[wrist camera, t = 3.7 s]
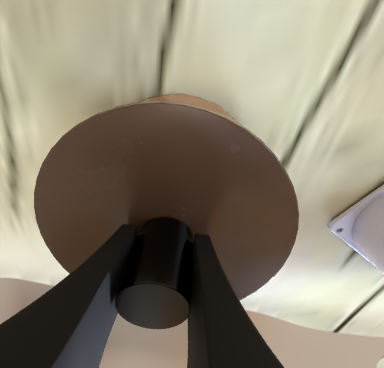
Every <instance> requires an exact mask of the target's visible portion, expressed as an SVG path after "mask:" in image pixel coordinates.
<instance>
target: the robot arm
mask: <svg viewBox="0 0 384 368" xmlns="http://www.w3.org/2000/svg"><path fill="white" fill-rule="evenodd" d="M328 227H329V229H330V230H331V231H332V232H334V233H335V234H336V235H337V236H338V237H340V238H341V239H342V240H343V241H344V242H346V243H347V244H348V245H349V246H351V247H352V248H353V249H354V250H355V251H357V252H358V253H359V254H360V255H362V256H363V257H364V258H365V259H366V260H368V261H369V262H370V263H371V264H373V265H374V266H375V267H376V268H377V269H378V270H379V271H380V272H381V273H382V274H383V276H384V184H383V185H382V186H380V187H379V188H378V189H376V190H375V191H373V192H372V193H370V194H369V195H368V196H366V197H365V198H363V199H362V200H361V201H359V202H358V203H356V204H355V205H353V206H352V207H351V208H349V209H348V210H346V211H345V212H344V213H342V214H341V215H339V216H338V217H336V218H335V219H334V220H332V221H331V222H330V223H329V224H328ZM338 228H339V229H338ZM136 239H137V226H136V225H129V224H123V225H121V226H120V227H119V228H118V229H117V231H116V232H115V233H114V234H113V235H112V236H111V237H110V238H109V239H108V240H107V241H106V242H105V243H104V244H103V245H102V246H101V247H100V248H99V249H97V250H96V251H95V252H94V253H93V254H92V255H91V256H90V257H89V258H88V259H87V260H86V261H84V262H83V263H82V264H81V265H80V266H79V267H77V268H76V269H75V270H74V271H73V272H72V273H70V274H69V275H68V276H67V277H66V278H64V279H63V280H62V281H61V282H59V283H58V284H57V285H56V286H54V287H53V288H52V289H50V290H49V291H48V292H46V293H45V294H44V295H42V296H41V297H40V298H38V299H37V300H36V301H34V302H33V303H31V304H30V305H28V306H27V307H25V308H24V309H22V310H21V311H20V312H18V313H17V314H15V315H14V316H12V317H11V318H9V319H8V320H6V321H5V322H3V323H2V324H0V368H99V365H100V362H101V358H102V355H103V351H104V348H105V345H106V343H107V339H108V337H109V334H110V331H111V329H112V326H113V324H114V321H115V319H116V316H117V314H118V312H117V310H116V308H115V296H116V294H117V291H118V288H119V286H120V283H121V280H122V277H123V275H124V272H125V269H126V267H127V264H128V261H129V258H130V256H131V253H132V250H133V248H134V245H135V242H136ZM187 368H284V367H283V365H282V364H281V363H280V361H279V360H278V359H277V357H276V356H275V355H274V353H273V352H272V350H271V349H270V348H269V346H268V345H267V344H266V342H265V341H264V339H263V338H262V336H261V335H260V333H259V332H258V330H257V329H256V327H255V326H254V324H253V323H252V321H251V319H250V318H249V316H248V315H247V313H246V311H245V310H244V308H243V306H242V305H241V303H240V301H239V299H238V297H237V296H236V294H235V292H234V290H233V288H232V286H231V284H230V282H229V280H228V278H227V276H226V274H225V272H224V270H223V268H222V266H221V263H220V261H219V259H218V256H217V254H216V251H215V249H214V246H213V243H212V240H211V237H210V236H209V235H203V234H195V238H194V243H193V260H192V295H191V312H190V314H189V316H188V363H187Z"/></svg>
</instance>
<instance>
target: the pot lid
mask: <svg viewBox="0 0 384 368" xmlns="http://www.w3.org/2000/svg"><path fill="white" fill-rule="evenodd" d="M34 209H35V214H36V220H37V224H38V227H39V230H40V233H41V235H42V237H43V239H44V241H45V243H46V245H47V247H48V248H49V250H50V251H51V253H52V254H53V256H54V257H55V259H56V260H57V261H58V262H59V263H60V264H61V266H62V267H63V268H64V269H65V270H66V271H67V272H68V273H72V272H73V271H74V270H75V269H76V268H77V267H79V266H80V265H81V264H82V263H83V262H84V261H86V260H87V259H88V258H89V257H90V256H91V255H92V254H93V253H94V252H95V251H96V250H97V249H99V248H100V247H101V246H102V245H103V244H104V243H105V242H106V241H107V240H108V239H109V238H110V237H111V236H112V235H113V234H114V233H115V232H116V231H117V229H118V228H119V227H120V226H121V225H123V224H129V225H136V226H137V239H136V242H135V245H134V248H133V250H132V253H131V256H130V258H129V261H128V264H127V267H126V269H125V272H124V275H123V277H122V280H121V283H120V286H119V288H118V291H117V294H116V296H115V308H116V310H117V312H118V313H119V314H120V315H121V316H122V317H123V318H124V319H125V320H127V321H128V322H130V323H132V324H134V325H137V326H140V327H144V328H149V329H166V328H171V327H174V326H177V325H179V324H181V323H182V322H184V321H185V320H186V319H187V318H188V316H189V314H190V312H191V295H192V260H193V243H194V238H195V234H203V235H209V236H210V237H211V240H212V243H213V246H214V249H215V251H216V254H217V256H218V259H219V261H220V263H221V266H222V268H223V270H224V272H225V274H226V276H227V278H228V280H229V282H230V284H231V286H232V288H233V290H234V292H235V294H236V296H237V297H238V299H239V300H242V299H244V298H246V297H247V296H249V295H251V294H253V293H254V292H256V291H257V290H259V289H260V288H261V287H263V286H264V285H265V284H267V283H268V282H269V281H270V280H271V279H272V278H273V277H274V276H275V275H276V274H277V272H278V271H279V270H280V269H281V268H282V266H283V265H284V263H285V262H286V260H287V258H288V257H289V255H290V253H291V250H292V248H293V245H294V243H295V239H296V235H297V231H298V219H299V212H298V203H297V198H296V194H295V191H294V187H293V184H292V182H291V180H290V178H289V176H288V174H287V172H286V170H285V168H284V167H283V166H282V164H281V163H280V161H279V160H278V158H277V157H276V156H275V154H274V153H273V152H272V151H271V150H270V149H269V148H268V147H267V146H266V145H265V144H264V143H263V142H262V141H261V140H260V139H259V138H258V137H257V136H256V135H254V134H253V133H252V132H250V131H249V130H248V129H246V128H245V127H244V126H242V125H240V124H239V123H237V122H235V121H233V120H231V119H230V118H228V117H226V116H224V115H221V114H219V113H216V112H213V111H211V110H208V109H205V108H202V107H198V106H193V105H189V104H185V103H176V102H165V101H154V102H138V103H133V104H127V105H122V106H118V107H115V108H112V109H109V110H106V111H104V112H101V113H98V114H96V115H94V116H92V117H90V118H89V119H87V120H85V121H83V122H81V123H79V124H78V125H76V126H75V127H74V128H72V129H71V130H70V131H69V132H67V133H66V134H65V135H63V136H62V137H61V139H60V140H59V141H58V142H57V143H56V144H55V145H54V146H53V148H52V149H51V150H50V152H49V153H48V155H47V157H46V158H45V160H44V162H43V163H42V166H41V169H40V171H39V174H38V177H37V180H36V186H35V191H34Z"/></svg>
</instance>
